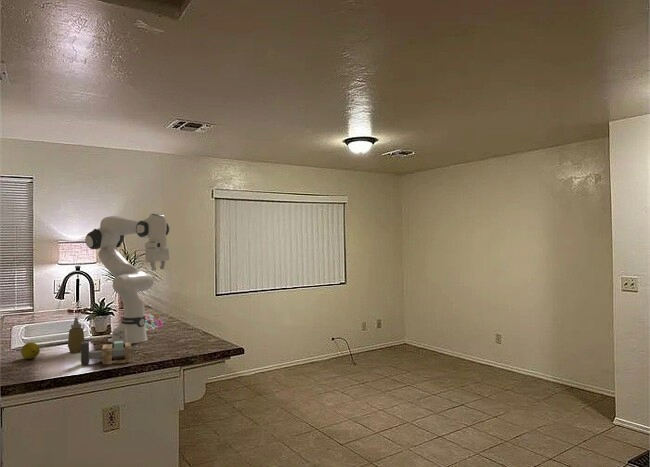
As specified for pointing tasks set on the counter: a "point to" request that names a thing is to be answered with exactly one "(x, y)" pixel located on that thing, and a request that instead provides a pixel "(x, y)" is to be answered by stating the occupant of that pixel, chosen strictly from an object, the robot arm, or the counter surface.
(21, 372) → the counter surface
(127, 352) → the bearing block
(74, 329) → the squeeze bottle
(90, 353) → the grey mallet
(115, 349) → the spacer
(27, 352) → the lemon
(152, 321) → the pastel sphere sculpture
